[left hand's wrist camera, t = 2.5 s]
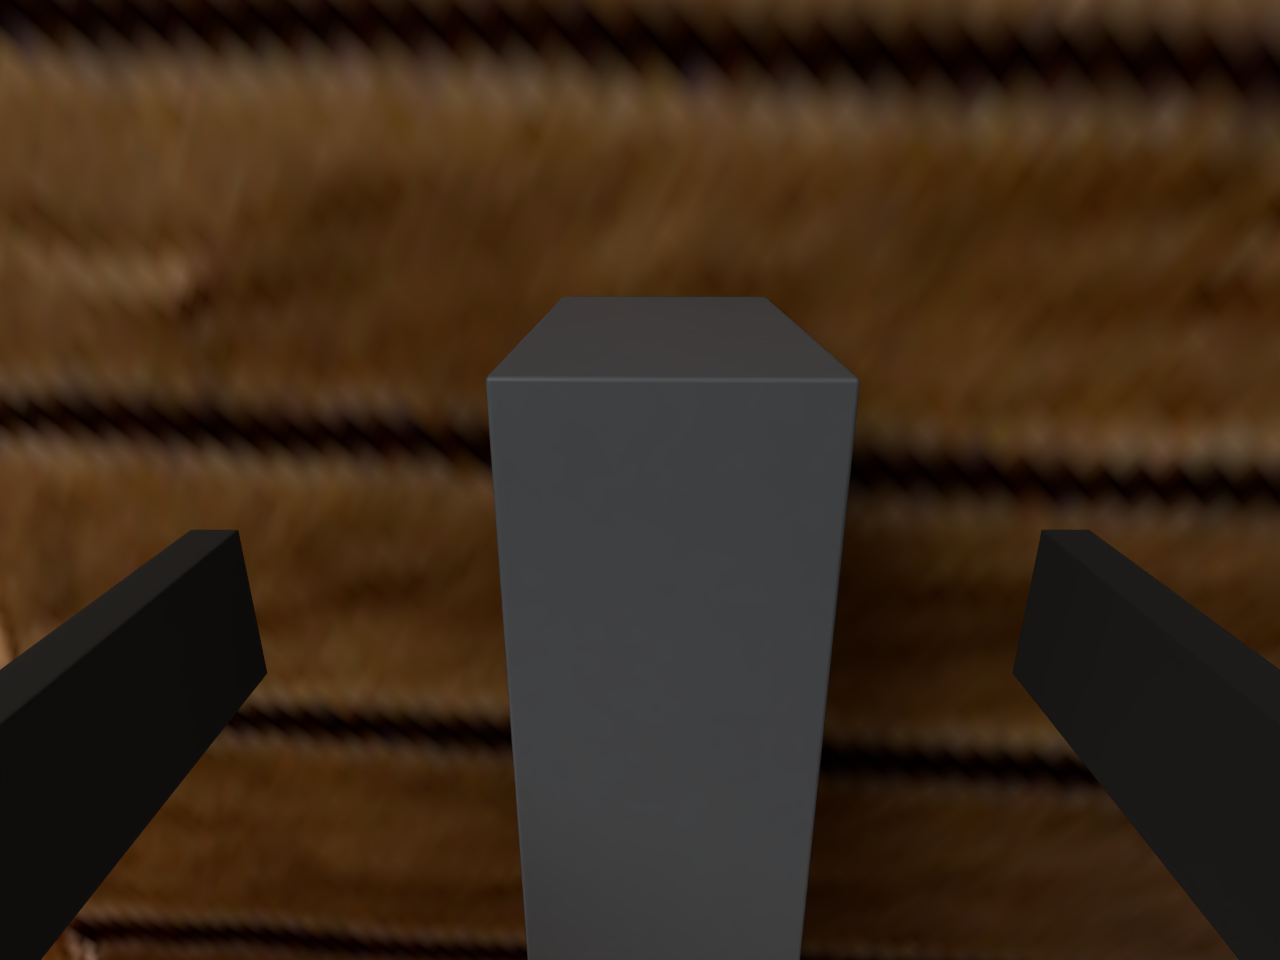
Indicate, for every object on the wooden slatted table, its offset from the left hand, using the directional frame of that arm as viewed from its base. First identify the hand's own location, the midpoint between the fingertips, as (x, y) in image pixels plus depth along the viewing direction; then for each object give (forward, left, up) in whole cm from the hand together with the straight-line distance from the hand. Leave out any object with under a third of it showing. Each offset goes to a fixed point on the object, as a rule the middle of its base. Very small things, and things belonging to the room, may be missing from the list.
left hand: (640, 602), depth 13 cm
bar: (0, +8, -6) cm, 10 cm away
